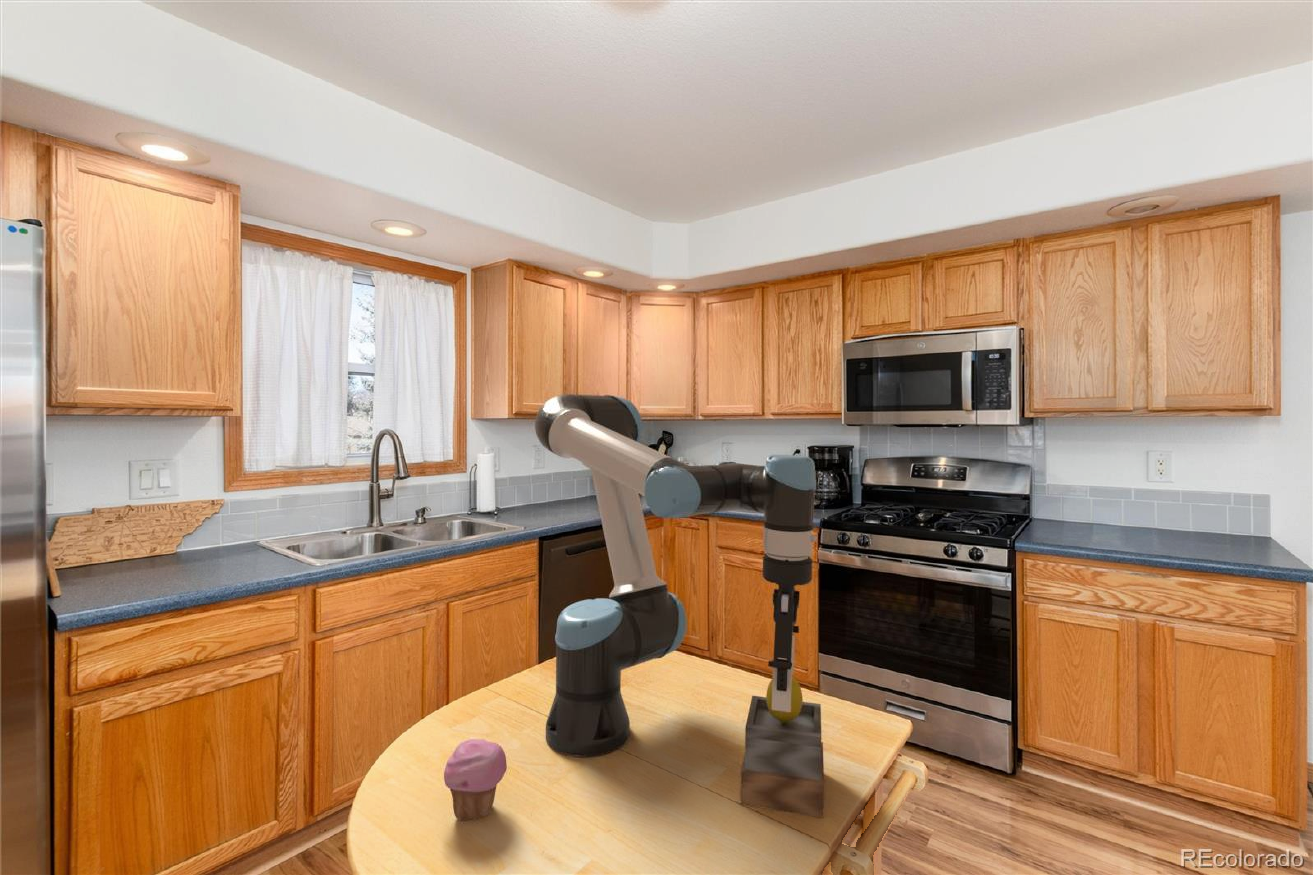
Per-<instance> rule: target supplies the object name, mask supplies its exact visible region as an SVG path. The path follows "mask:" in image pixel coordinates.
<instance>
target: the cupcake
mask: <svg viewBox="0 0 1313 875" xmlns="http://www.w3.org/2000/svg"><path fill="white" fill-rule="evenodd" d="M507 769H508V766H507V757H506V752H505V751H504V749H503V747H502V746H501V745H500V744H499V743H497V742H494V741H490V740H489V741H488V740H486V739H483V738H472V739H468V740H465V741H462V742H460V743H459V744H458V745H457V746H456V747H455V750H453V752H452V754H451V755H450V756H449V757H448V759H447V762H446V764H445V767H444V772H443V780H444V785H445V786H446V787H447V788H448V789H449V791H450V793H451V797H452V806H453V807H452V808H453V814H454V817H455V818H456V819H458V820H459V821H468V819H470V820H474V818H475V819H480V818H483V817H485V816H487V815H488V814H489V813H490V812H491V811H492V808H493V806H494V802H495V796H496V790H497V785H498V784H499V783H500V782H501V781H502V780H503V777H504V775H505V774H506V772H507Z"/></svg>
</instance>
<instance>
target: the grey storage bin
mask: <svg viewBox="0 0 1313 875" xmlns="http://www.w3.org/2000/svg"><path fill="white" fill-rule="evenodd" d="M821 706H822V705H821V703H818V702H817V703H816V702H810V701H809V702H808V701H803V702H802V708H801V711H800V713H799V715H798V716H797V717H796V718H795V719H794V720H792V721H788V722H787V723H786V724H782V723H781V722H780V721H779V720H777V719H776V718H774V717H773V716H772V715H771V713H770V711H769V709H768V706H767V701H766V696H760V695H759V696H758V695H751V700H750V704H749V710H748V712H747V713H748V714H747V718H746V724H745V728H744V730H745V732H744V733H745V734H744V754H743V759H742V764H741V770H740V789H739V790H740V794H739V795H740V798H739V799H740V800H739V801H740V802H739V803H740V805H743V806H744V805H745V806H749V807H750V806H751V807H756V808H761V809H762V808H763V809H769V810H774V811H780V812H786V813H794V814H799V815H804V816H805V815H806V816H809V817H811V816H812V817H817V818H822V819H823V818H824V805H825V804H824V803H825V800H824V799H825V769H824V766H825V765H824V742H822V738H823V737H822V710H821V709H822V707H821Z"/></svg>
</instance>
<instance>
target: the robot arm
mask: <svg viewBox="0 0 1313 875" xmlns="http://www.w3.org/2000/svg"><path fill="white" fill-rule="evenodd" d="M534 429H535V430H534V431H535V434H536V438H538V439H537V440H538V441H539V443H540V444H541V445H542V446H543V447H544V448H545V449H546V450H547V451H549V452H550V453H553V454H554V455H556V456H558V457H560V458H562V459H571V458H574V459H575V460H577V461H578V462H580V463H582V465H583V466H585V467H586V468H587V469H589V470H590V472H591V476H592V481H593V485H594V492H595V495H596V501H597V506H598V509H599V514H600V520H601V521H600V522H601V525H602V530H603V535H604V539H605V545H606V549H607V554H608V559H609V564H610V569H611V572H612V574H611V575H612V579H613V584H614V586H613V589H612V590H611V592H610V593H609V596H608V598H604V597H603V598H602V597H601V598H600V597H599V598H598V597H596V598H595V599H591V598H590V599H584V600H579V601H577V602H574V603H572V604H570V605H568V606H566V607H565V608H564V609H563V610H562V611H561V612H560V613H559V616H558V617H557V621H556V622H557V623H556V633H555V637H554V640H555V644H556V645H555V646H556V649H555V653H556V654H555V656H556V657H555V695H554V698H553V701H552V704H551V707H550V711H549V714H548V716H547V718H546V722H545V741H546V743H547V745H548V746H549V747H550V748H551V749H553V750H554V751H556V752H558V753H561V754H565V755H569V756H575V757H593V756H594V757H595V756H601V755H605V754H608V753H611V752H613V751H616V750H618V749H619V748H621V747H622V746H624V745H625V744H626V743H627V742H628V740H629V739H630V738H629V737H630V733H631V732H630V731H631V730H630V729H631V727H630V726H631V722H630V717H629V715H628V711H627V708H626V704H625V702H624V699H623V696H622V692H621V691H622V690H621V681H622V680H621V678H622V674H621V673H622V672H621V671H623V670H625V669H628V668H631V667H635V666H637V665H640V664H643V663H646V662H650V661H652V660H655V659H661V658H663V657H665V656H667V655H669V654H670V653H673V652H675V651H676V650H678V649H679V647H680V646H681V644H682V643H683V640H684V639H685V637H686V633H687V627H688V622H687V621H688V618H687V613H686V609H685V607H684V605H683V602H682V601H681V600H679V597H678V596H677V595H676V594H674V593H672V592H669V589H668V585H667V582H666V581H665V580H663V579H661V578H660V577H659V575H657V571H656V567H655V566H656V565H655V561H654V558H653V553H652V547H651V543H650V539H649V534H648V530H647V526H646V521H645V516H644V511H643V507H642V503H641V498H640V496H643V497H644V501H645V504H646V506H647V507H649V508H650V512H651V513H652V514H654V515H655V516H657V517H658V518H663V519H683V518H687V517H691V516H698V515H705V514H712V513H713V514H714V513H721V512H728V511H735V510H742V511H750V512H756V513H761V514H763V521H764V522H763V524H764V525H763V528H762V532H763V534H762V536H763V537H762V551H763V552H764V553H765V554H764V555H763V556H762V573H761V574H762V578H763V579H764V580H765V581H766V582H768V583H772V584H773V583H774V584H775V585H778V588H773V589H774V590H773V594H772V605H773V613H772V614H773V615H772V616H773V618H772V619H773V622H774V624H775V626H774V638H773V639H774V641H773V642H774V643H773V660H768V662H767V663H768V665H767V666H768V667H771V668H772V679H773V681H772V710H778V711H785V712H791V687H792V677H793V675H794V672H795V671H794V669H795V643H796V642H795V641H796V640H795V639H796V638H795V637H796V634H799V633H800V628H799V627H800V626H799V625H796V624H797V623H798V622H797V619H798V617H797V616H798V609H799V606H800V593H801V592H800V591H799V590H796V587H797V586H805V585H808V584H810V582H812V580H813V559H812V558H811V555H813V546H814V545H813V543H815V542H817V541H818V537H817V535H816V534H815V535H813V533H814V514H815V513H814V510H815V496H816V494H815V493H816V488H817V483H816V473H815V472H816V469H815V468H816V467H815V466H816V465H815V461H814V460H813V459H812V458H811V457H809V456H806V455H797V454H796V455H795V454H794V455H793V454H791V455H790V454H771V455H768V456H767V457H766V460H765V465H757V464H756V465H753V464H746V463H737V462H735V461H717V462H713V463H712V464H711V465H710V464H709V465H707V464H706V465H705V464H704V465H688V464H686V463H684V462H682V461H679V460H677V459H674V458H673V457H671V456H669V455H666V454H664V453H662V452H660V451H658V450H656V449H653V448H652V447H649V446H647V445H645V444H642V443H640V442H641V440H642V435H641V434H643V430H644V428H643V421H642V417H641V414H640V412H639V410H638V408H637V407H636V405H635V404H634V403H633V402H632V401H630V400H628V399H627V398H626V397H621V396H620V397H619V396H615V395H612V394H611V395H610V394H605V395H599V394H598V395H597V394H596V395H594V394H593V395H592V394H591V395H590V394H574V393H564V394H559V395H556V396H554V397H551V398H550V399H548V400H546V402H545V403H543V405H542V406H540V408H539V409H538V411H537V414H536V417H535V419H534ZM639 494H640V495H639Z"/></svg>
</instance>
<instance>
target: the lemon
mask: <svg viewBox="0 0 1313 875" xmlns="http://www.w3.org/2000/svg"><path fill="white" fill-rule="evenodd" d="M772 681H773V678H772V679H771V680H770V682H769V683H768V687H767V689H766V694H765V695H766V696H765V697H766V701H767V706H768V709H769V711H770V713H771V715H772V716H773V717H774V718H776V719H777V720H779V721H780V722H781V723H782V724H786V723H787V722H788V721H792V720H794V719H795V718H796V717H797V716H798V715H799V713H800V711H801V708H802V702H804V700H803V694H802V693H803V691H802V688H801V685H800V683H799V682H798V680H797V679H796V678H794V677H793V676H792V687H791V712H785V711H778V710H772Z"/></svg>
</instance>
